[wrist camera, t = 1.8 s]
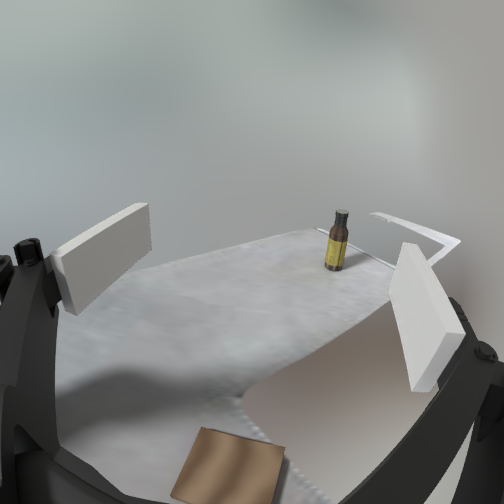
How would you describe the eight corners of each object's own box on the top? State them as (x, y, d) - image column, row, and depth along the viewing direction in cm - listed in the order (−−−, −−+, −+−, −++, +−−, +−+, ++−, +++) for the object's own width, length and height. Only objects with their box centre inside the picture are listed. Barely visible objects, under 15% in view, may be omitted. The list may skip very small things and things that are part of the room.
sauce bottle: (337, 262, 100) (348, 208, 92) (344, 271, 95) (356, 215, 86) (320, 262, 100) (330, 207, 91) (326, 272, 94) (338, 214, 85)
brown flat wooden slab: (171, 497, 30) (169, 495, 29) (201, 430, 42) (201, 426, 42) (264, 523, 28) (266, 522, 27) (283, 450, 40) (285, 447, 39)
